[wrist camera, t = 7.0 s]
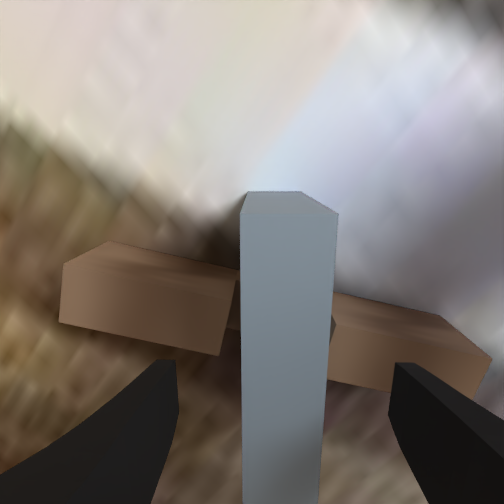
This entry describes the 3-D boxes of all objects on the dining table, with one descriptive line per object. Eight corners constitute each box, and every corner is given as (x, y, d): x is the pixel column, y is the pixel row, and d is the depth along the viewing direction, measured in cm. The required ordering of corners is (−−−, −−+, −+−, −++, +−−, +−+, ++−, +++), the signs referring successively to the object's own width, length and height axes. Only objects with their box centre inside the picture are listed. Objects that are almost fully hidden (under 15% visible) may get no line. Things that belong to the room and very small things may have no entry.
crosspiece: (292, 398, 19) (314, 544, 12) (248, 397, 19) (243, 543, 12) (300, 191, 16) (338, 214, 8) (247, 191, 16) (239, 213, 8)
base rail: (439, 315, 17) (492, 358, 13) (422, 356, 18) (467, 409, 14) (109, 240, 16) (63, 263, 13) (103, 286, 17) (58, 322, 13)
